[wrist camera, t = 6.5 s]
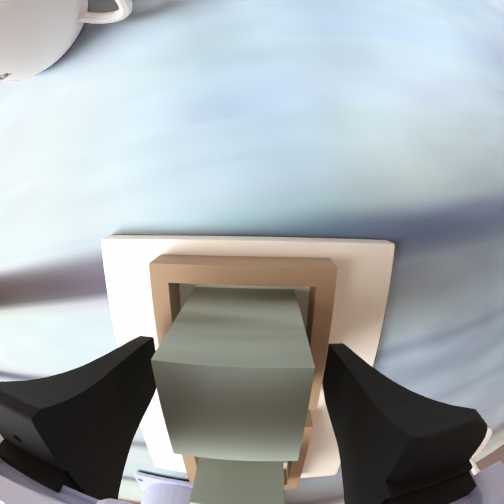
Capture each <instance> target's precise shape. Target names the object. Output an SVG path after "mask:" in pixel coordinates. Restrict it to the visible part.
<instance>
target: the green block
mask: <svg viewBox="0 0 504 504" xmlns="http://www.w3.org/2000/svg"><path fill="white" fill-rule="evenodd" d="M151 363H152V368H153V373H154V378H155V383H156V387H157V392H158V396H159V401H160V405H161V409H162V413H163V417H164V421H165V424H166V428H167V432H168V436H169V439H170V443H171V446H172V449H173V453H174V454H181V455H187V456H195V457H203V458H213V459H224V460H239V461H298V457H299V453H300V448H301V443H302V438H303V433H304V428H305V423H306V418H307V413H308V407H309V401H310V396H311V390H312V383H313V377H314V371H315V366H314V362H313V358H312V354H311V350H310V346H309V342H308V339H307V335H306V331H305V327H304V323H303V320H302V316H301V312H300V309H299V305H298V301H297V298H296V294H295V290H294V289H252V288H217V287H195V288H194V290H193V291H192V293H191V294H190V296H189V298H188V299H187V301H186V303H185V304H184V306H183V307H182V309H181V311H180V312H179V314H178V315H177V317H176V319H175V320H174V322H173V324H172V325H171V327H170V329H169V330H168V332H167V333H166V335H165V337H164V338H163V340H162V342H161V343H160V345H159V347H158V348H157V350H156V352H155V353H154V355H153V357H152V358H151Z"/></svg>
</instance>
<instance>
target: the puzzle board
mask: <svg viewBox="0 0 504 504" xmlns="http://www.w3.org/2000/svg"><path fill="white" fill-rule="evenodd" d="M101 244H102V254H103V263H104V271H105V279H106V286H107V293H108V299H109V305H110V311H111V317H112V322H113V327H114V332H115V337H116V341H117V346H118V348H119V347H120V346H122V345H124V344H126V343H127V342H129V341H131V340H133V339H135V338H137V337H139V336H146V337H153V338H154V344H155V350H157V348H158V347H159V345H160V343H161V342H162V340H163V338H164V337H165V335H166V333H167V332H168V330H169V329H170V327H171V325H172V324H173V322H174V320H175V319H176V317H177V315H178V314H179V312H180V311H181V309H182V307H183V306H184V304H185V303H186V301H187V299H188V298H189V296H190V294H191V293H192V291H193V290H194V288H195V287H217V288H252V289H294V290H295V294H296V298H297V301H298V305H299V309H300V312H301V316H302V320H303V323H304V327H305V331H306V335H307V339H308V342H309V346H310V350H311V354H312V358H313V362H314V366H315V371H314V377H313V383H312V390H311V396H310V401H309V407H308V413H307V418H306V423H305V428H304V433H303V438H302V443H301V448H300V453H299V457H298V461H239V460H224V459H213V458H203V457H195V456H187V455H181V454H174V453H173V449H172V446H171V443H170V439H169V436H168V432H167V428H166V424H165V421H164V417H163V413H162V409H161V405H160V401H159V396H158V392H157V387H156V390H155V393H154V396H153V398H152V400H151V402H150V404H149V406H148V408H147V410H146V412H145V414H144V416H143V418H142V420H141V422H140V427H141V430H142V433H143V436H144V439H145V441H146V444H147V447H148V449H149V452H150V454H151V457H152V459H153V462H154V464H155V467H158V468H163V469H168V470H174V471H179V472H186V473H187V475H188V478H189V481H190V484H193V488H192V492H191V497H190V501H189V502H190V504H285V492H284V490H288V489H297V488H298V484H299V481H300V478H308V477H321V476H331V475H336V473H337V471H338V468H339V466H340V464H341V462H340V455H339V449H338V445H337V441H336V438H335V434H334V431H333V427H332V424H331V421H330V417H329V414H328V411H327V407H326V404H325V398H324V392H323V385H322V381H323V375H324V370H325V364H326V358H327V351H328V345H329V344H336V343H343V344H345V345H346V346H347V347H349V348H350V349H351V350H352V351H353V352H355V353H356V354H357V355H358V356H359V357H360V358H362V359H363V360H364V361H365V362H367V363H368V364H369V365H370V366H372V367H373V364H374V360H375V356H376V352H377V347H378V343H379V339H380V334H381V329H382V325H383V320H384V315H385V309H386V304H387V298H388V292H389V286H390V279H391V273H392V265H393V257H394V249H395V244H393V243H392V242H390V241H388V240H371V239H340V238H304V237H257V236H183V235H110V236H107V237H105V238H102V239H101Z"/></svg>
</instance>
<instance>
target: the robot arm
mask: <svg viewBox="0 0 504 504" xmlns="http://www.w3.org/2000/svg"><path fill="white" fill-rule="evenodd" d="M155 352H156V350H155V344H154V338H153V337H146V336H139V337H137V338H135V339H133V340H131V341H129V342H127V343H126V344H124V345H122V346H120V347H119V348H117V349H115V350H113V351H112V352H110V353H108V354H106V355H104V356H102V357H100V358H98V359H96V360H94V361H92V362H90V363H88V364H86V365H84V366H81V367H79V368H76V369H73V370H71V371H68V372H65V373H61V374H57V375H54V376H50V377H46V378H40V379H34V380H27V381H10V382H0V434H1V435H2V437H3V438H4V440H3V441H2V442H1V443H0V504H133V503H130V502H126V501H121V500H118V494H119V488H120V484H121V479H122V475H123V471H124V467H125V463H126V459H127V456H128V453H129V450H130V446H131V443H132V440H133V438H134V435H135V433H136V431H137V428H138V426H139V424H140V422H141V420H142V418H143V416H144V414H145V412H146V410H147V408H148V406H149V404H150V402H151V400H152V398H153V396H154V393H155V390H156V383H155V378H154V373H153V368H152V363H151V358H152V357H153V355H154V353H155ZM322 385H323V392H324V398H325V404H326V407H327V411H328V414H329V417H330V421H331V424H332V427H333V431H334V434H335V438H336V441H337V445H338V449H339V455H340V462H341V469H342V478H343V487H344V501H345V504H504V465H503V463H502V462H501V461H498V462H496V463H495V464H493V465H491V466H489V467H487V468H485V469H483V470H481V471H480V472H478V473H477V474H475V475H474V476H473V477H472V476H471V475H470V472H469V471H470V470H471V469H472V464H471V463H470V461H469V460H470V459H471V457H472V456H473V455H474V453H475V452H476V450H477V449H478V448H479V446H480V445H481V443H482V442H483V440H484V438H485V436H486V433H487V424H486V423H485V421H484V420H483V419H482V417H481V416H480V415H479V413H478V412H477V411H476V409H470V408H464V407H458V406H453V405H449V404H445V403H442V402H438V401H435V400H432V399H429V398H426V397H424V396H422V395H419V394H417V393H414V392H412V391H410V390H408V389H406V388H404V387H402V386H401V385H399V384H397V383H395V382H393V381H392V380H390V379H389V378H387V377H386V376H384V375H383V374H381V373H380V372H378V371H377V370H376V369H374V368H373V367H372V366H370V365H369V364H368V363H367V362H365V361H364V360H363V359H362V358H360V357H359V356H358V355H357V354H356V353H355V352H353V351H352V350H351V349H350V348H349V347H347V346H346V345H345V344H343V343H336V344H329V345H328V351H327V358H326V364H325V370H324V375H323V381H322ZM134 476H135V478H136V480H137V482H138V483H139V485H140V487H141V489H142V490H143V492H144V496H143V499H142V502H141V504H190V502H189V501H190V497H191V492H192V488H193V484H190V482H187V481H181V480H175V479H169V478H164V477H159V476H154V475H150V474H145V473H141V472H135V474H134Z"/></svg>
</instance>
